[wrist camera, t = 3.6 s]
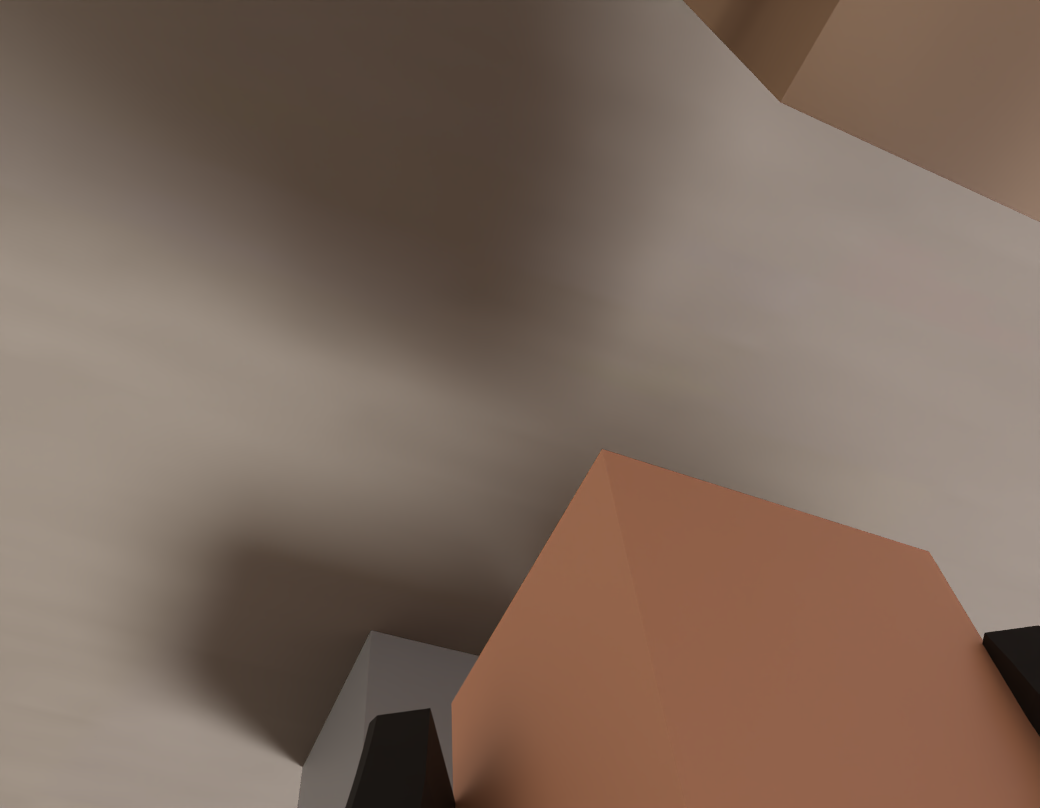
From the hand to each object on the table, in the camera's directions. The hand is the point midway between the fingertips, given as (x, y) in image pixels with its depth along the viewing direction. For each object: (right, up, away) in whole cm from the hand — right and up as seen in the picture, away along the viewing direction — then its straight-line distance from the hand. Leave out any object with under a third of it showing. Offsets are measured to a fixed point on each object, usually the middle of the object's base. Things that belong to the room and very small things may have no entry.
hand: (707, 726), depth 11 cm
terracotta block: (0, +1, +1) cm, 1 cm away
